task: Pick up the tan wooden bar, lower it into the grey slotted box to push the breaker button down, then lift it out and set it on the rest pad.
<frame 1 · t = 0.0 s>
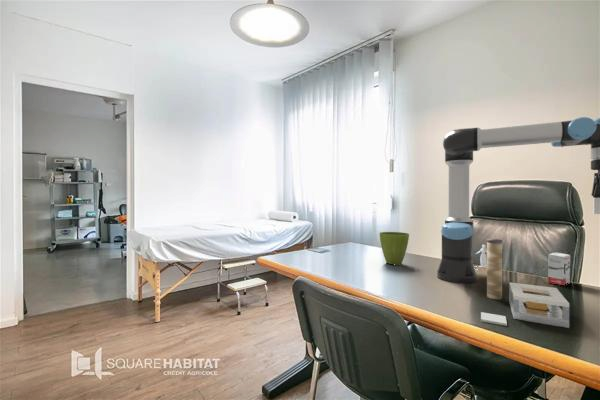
grey slotted box: (535, 313, 89), on the table
rest pad: (493, 319, 85), on the table
figurine: (483, 268, 146), on the table
flower pot: (394, 264, 157), on the table
breaker button: (535, 302, 89), point 3 cm above the table, slide at 0.0 cm
ink box: (559, 283, 121), on the table
tan wooden bar: (494, 297, 104), on the table
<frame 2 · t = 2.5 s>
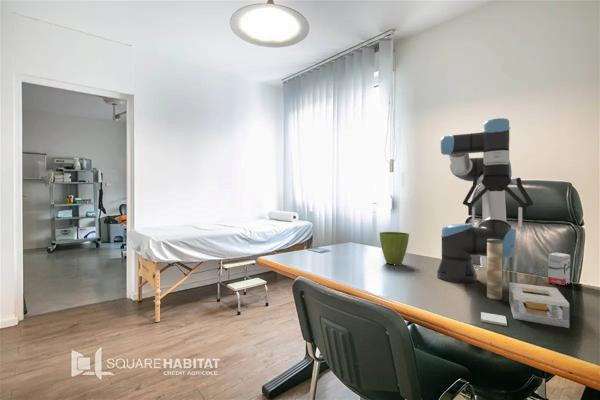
hand: (495, 226, 104), 25 cm above the table, fingers open, 13 cm apart
nothing on the table moved.
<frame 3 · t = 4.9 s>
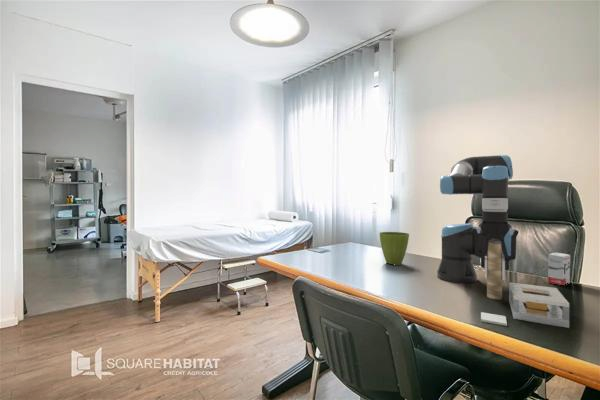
hand: (494, 278, 104), 7 cm above the table, fingers closed on tan wooden bar, 4 cm apart
tan wooden bar: (494, 297, 104), on the table, touching gripper
everything else where it was.
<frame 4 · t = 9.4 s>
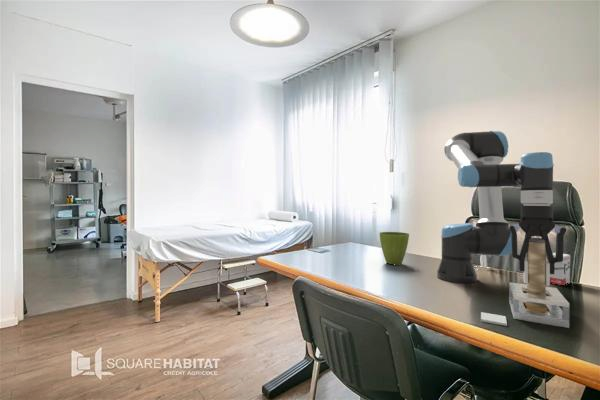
hand: (536, 283, 89), 9 cm above the table, fingers closed on tan wooden bar, 4 cm apart
breaker button: (535, 309, 89), point 1 cm above the table, slide at 2.1 cm, touching tan wooden bar
tan wooden bar: (536, 305, 89), point 2 cm above the table, touching breaker button, gripper
everything else where it was.
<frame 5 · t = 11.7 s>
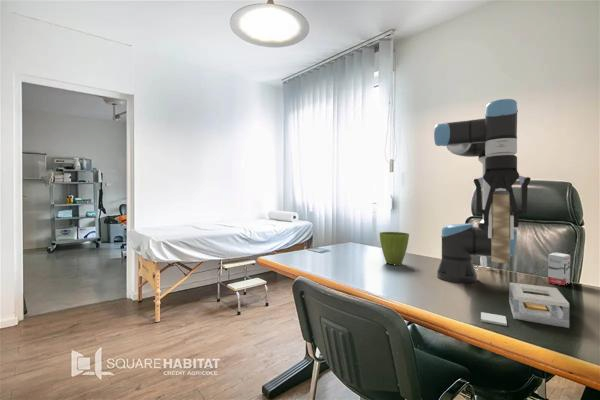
hand: (500, 238, 85), 23 cm above the table, fingers closed on tan wooden bar, 4 cm apart
breaker button: (535, 309, 89), point 1 cm above the table, slide at 2.1 cm
tan wooden bar: (500, 261, 85), point 16 cm above the table, touching gripper
everything else where it was.
when the fingers open (8 cm above the table, at t = 13.8 s): tan wooden bar stays where it is, resting on rest pad.
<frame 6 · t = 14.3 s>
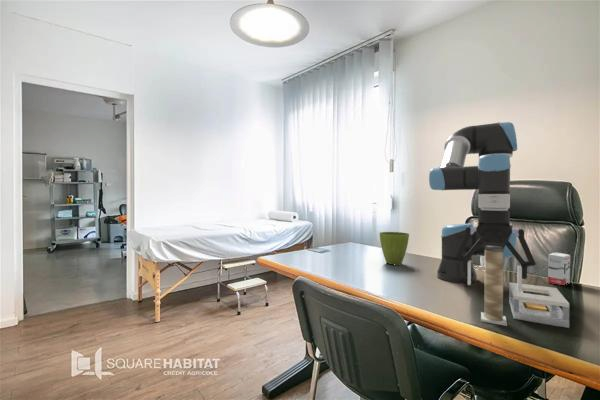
hand: (493, 286, 84), 9 cm above the table, fingers open, 11 cm apart
tan wooden bar: (493, 317, 85), point 1 cm above the table, touching rest pad
everything else where it was.
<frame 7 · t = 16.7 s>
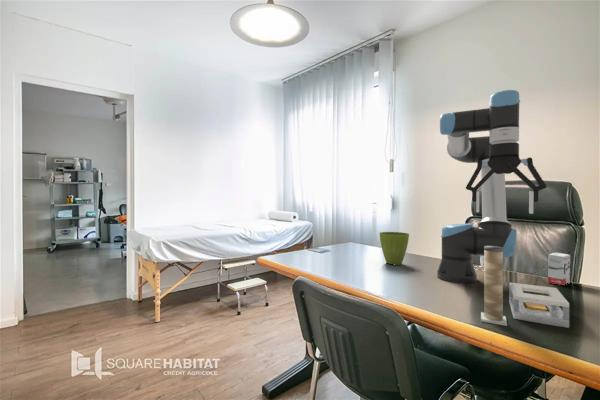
hand: (503, 212, 92), 30 cm above the table, fingers open, 13 cm apart
nothing on the table moved.
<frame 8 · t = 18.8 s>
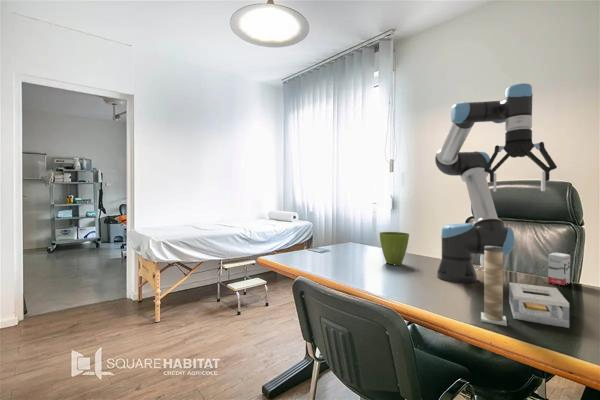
hand: (518, 191, 104), 37 cm above the table, fingers open, 13 cm apart
nothing on the table moved.
at the end: breaker button slide at 2.1 cm; tan wooden bar 0.0 cm off-centre on the rest pad, point 0.6 cm above the rest pad's base; tan wooden bar tilted 0° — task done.
